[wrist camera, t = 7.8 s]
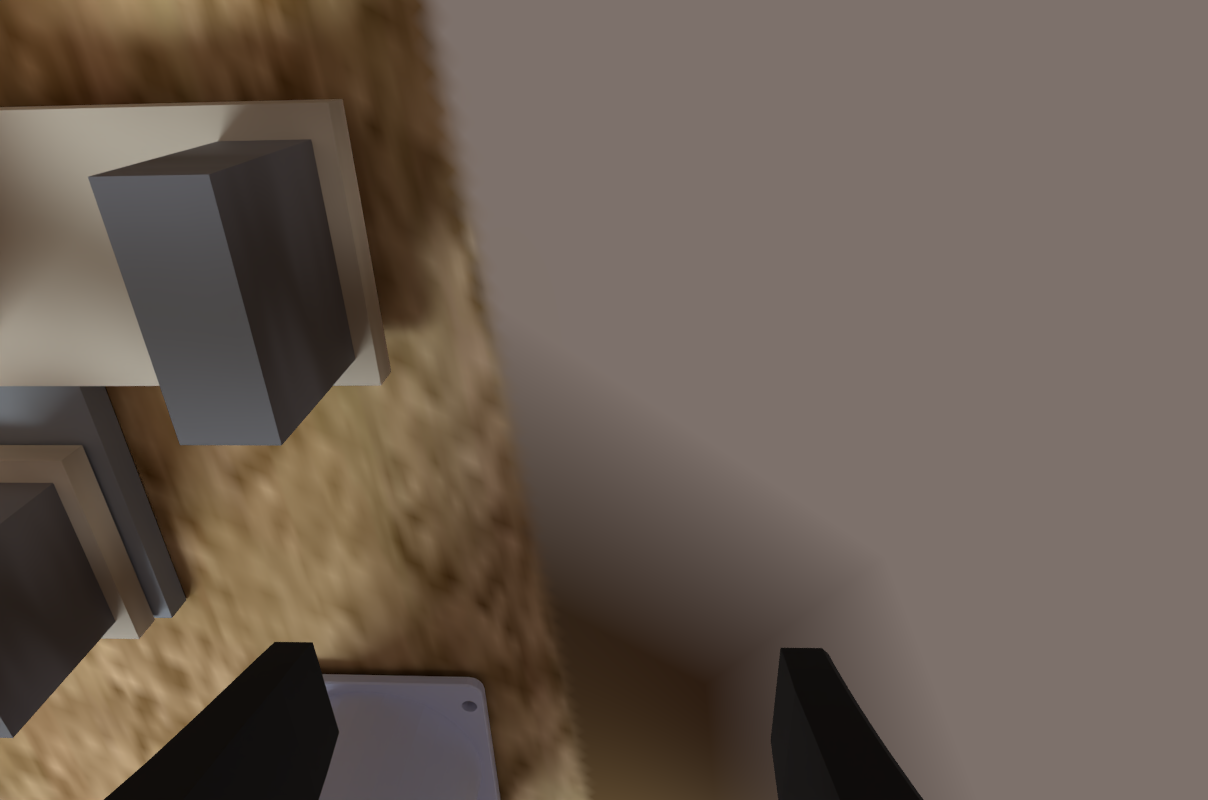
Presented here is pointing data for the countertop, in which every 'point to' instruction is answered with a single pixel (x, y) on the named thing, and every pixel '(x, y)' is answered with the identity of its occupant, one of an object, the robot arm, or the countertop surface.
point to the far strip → (89, 524)
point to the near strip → (77, 249)
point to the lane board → (98, 472)
